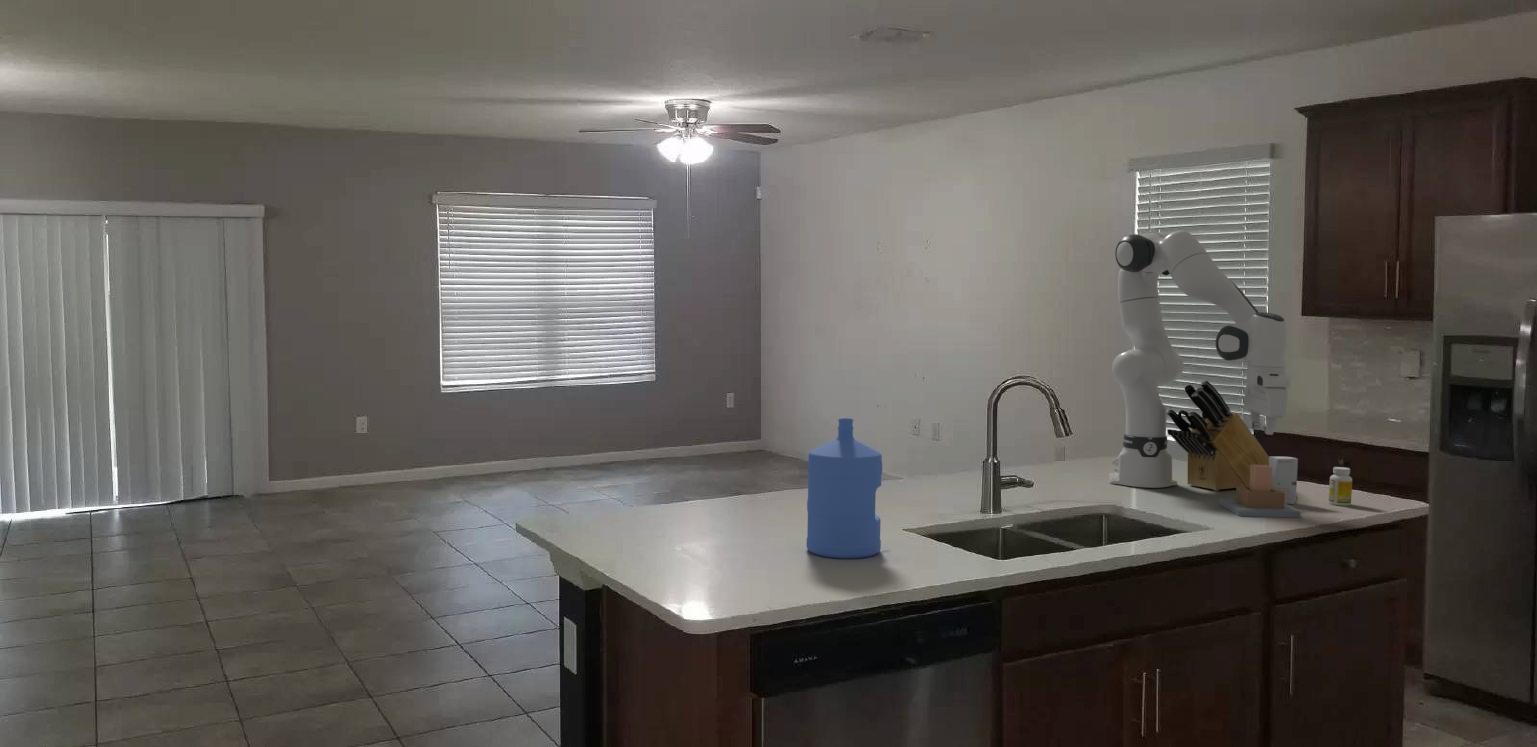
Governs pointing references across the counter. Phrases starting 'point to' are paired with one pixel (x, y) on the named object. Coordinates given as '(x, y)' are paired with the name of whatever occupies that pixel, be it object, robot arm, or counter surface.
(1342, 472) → the supplement bottle
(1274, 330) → the robot arm
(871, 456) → the water jug
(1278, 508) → the collar socket
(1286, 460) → the skincare box
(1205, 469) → the knife block
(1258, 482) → the terracotta peg
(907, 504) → the counter surface
